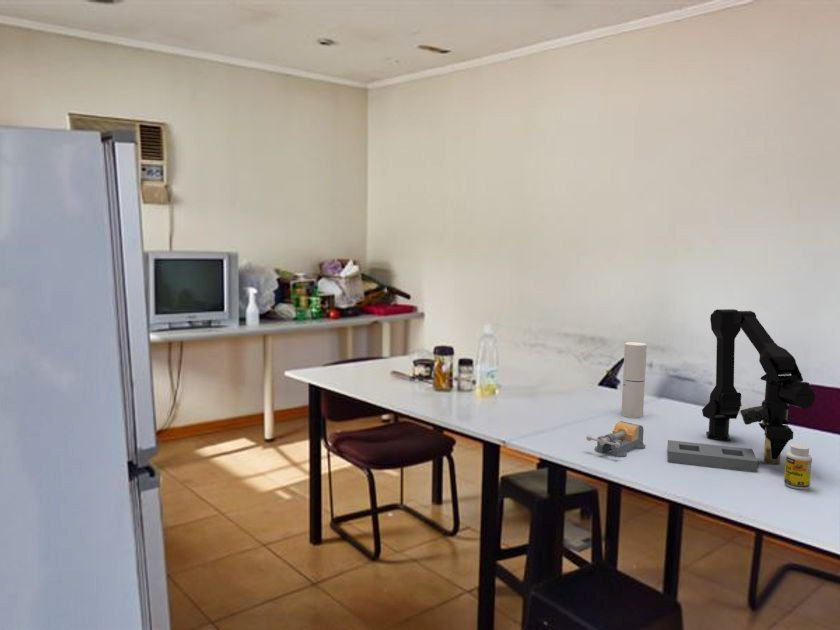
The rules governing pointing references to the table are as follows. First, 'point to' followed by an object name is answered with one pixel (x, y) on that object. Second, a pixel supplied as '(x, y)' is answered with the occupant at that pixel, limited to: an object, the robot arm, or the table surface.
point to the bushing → (769, 454)
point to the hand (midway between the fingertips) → (772, 455)
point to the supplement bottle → (798, 467)
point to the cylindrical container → (634, 379)
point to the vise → (621, 439)
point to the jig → (712, 455)
